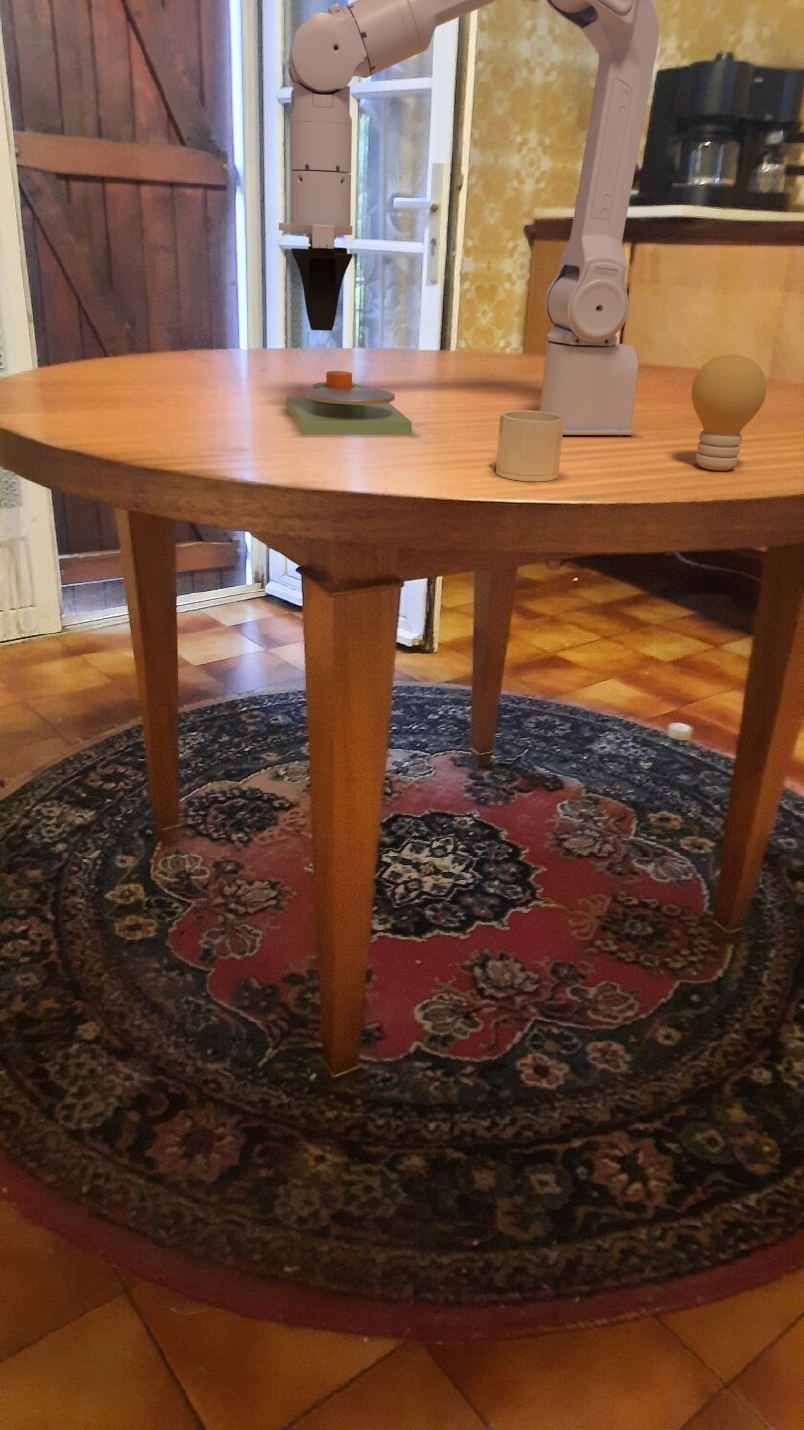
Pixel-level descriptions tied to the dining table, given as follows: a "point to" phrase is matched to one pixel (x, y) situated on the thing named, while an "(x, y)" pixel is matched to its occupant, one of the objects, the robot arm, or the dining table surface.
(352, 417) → the scale
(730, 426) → the light bulb
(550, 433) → the ramekin
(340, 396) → the weighing pan
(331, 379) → the orange cylinder
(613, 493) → the dining table surface
